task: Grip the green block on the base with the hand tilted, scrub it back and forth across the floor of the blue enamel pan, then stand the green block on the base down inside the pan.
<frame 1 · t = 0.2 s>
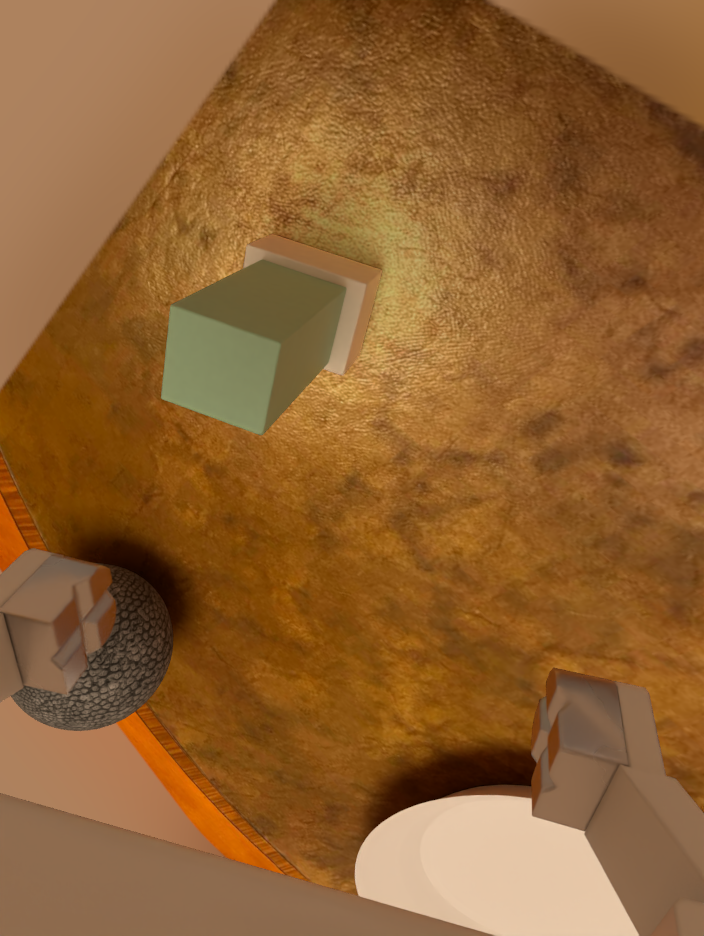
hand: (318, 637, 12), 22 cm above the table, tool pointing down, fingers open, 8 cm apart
white dinner plate: (535, 867, 47), on the table
green block on base: (316, 296, 32), on the table
decorative ball: (135, 592, 45), on the table
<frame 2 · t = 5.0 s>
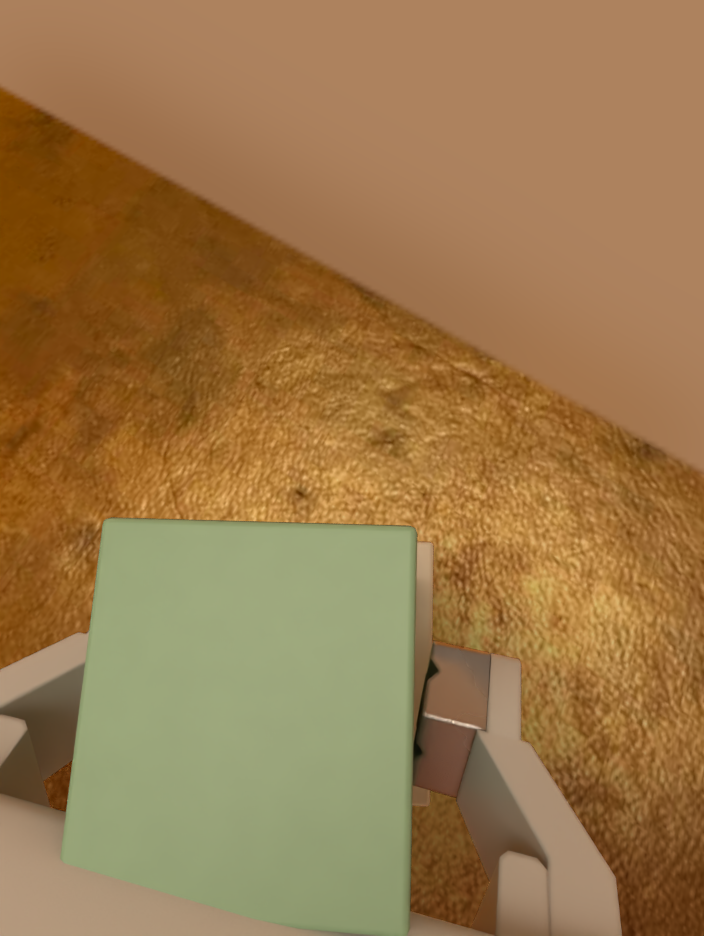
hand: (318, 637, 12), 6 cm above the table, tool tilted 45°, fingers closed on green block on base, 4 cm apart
green block on base: (346, 657, 18), on the table, touching gripper
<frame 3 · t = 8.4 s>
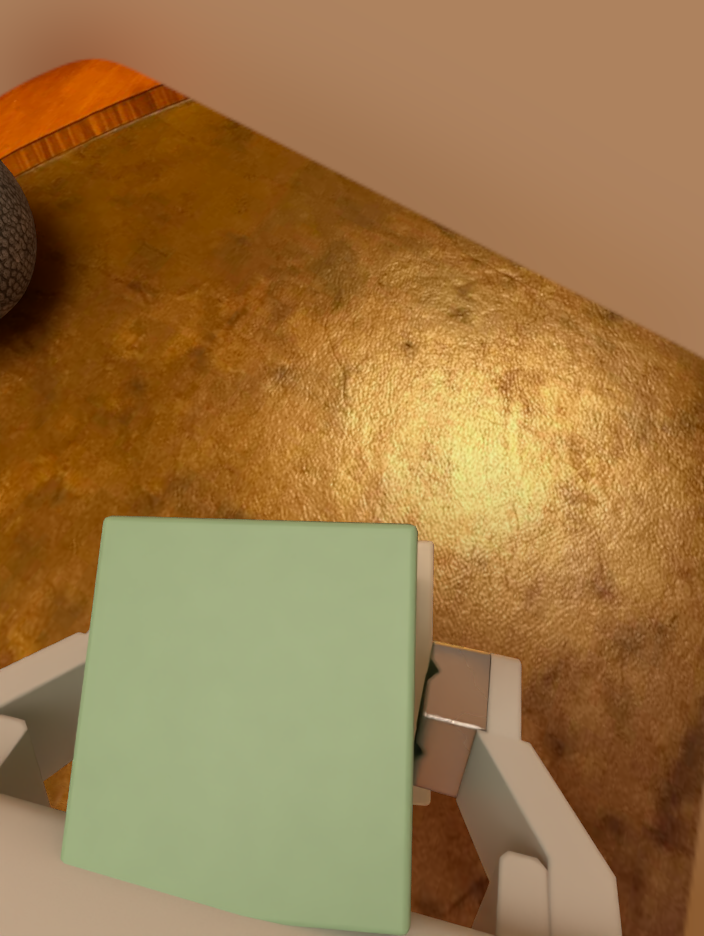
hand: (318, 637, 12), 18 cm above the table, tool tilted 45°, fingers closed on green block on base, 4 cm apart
green block on base: (346, 656, 18), point 12 cm above the table, touching gripper
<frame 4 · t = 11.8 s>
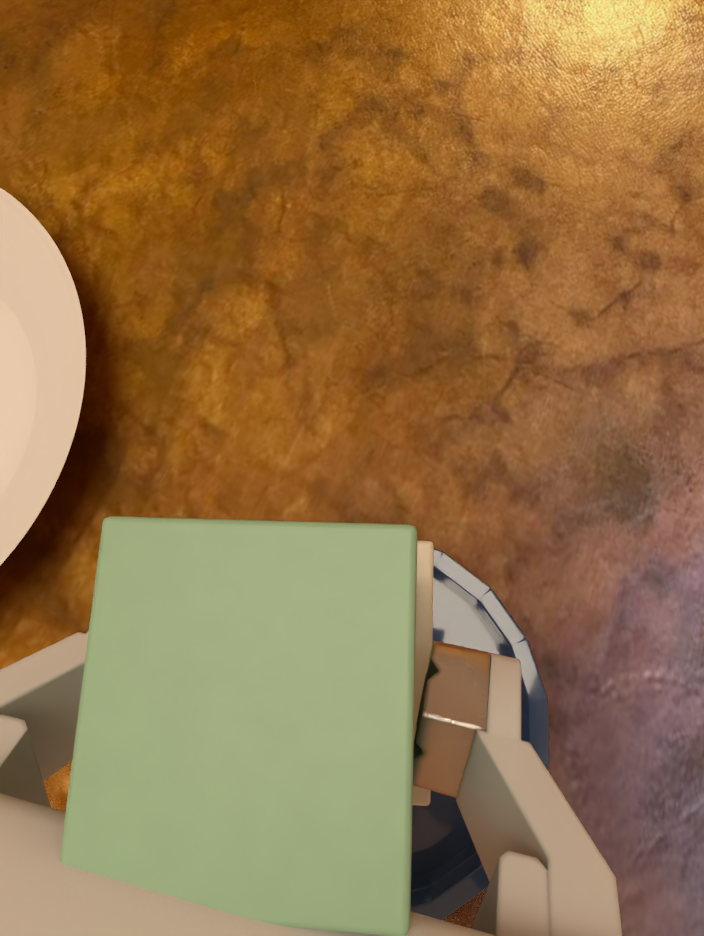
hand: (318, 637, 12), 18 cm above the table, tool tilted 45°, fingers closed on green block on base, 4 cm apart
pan: (361, 709, 28), on the table
green block on base: (346, 656, 18), point 12 cm above the table, touching gripper
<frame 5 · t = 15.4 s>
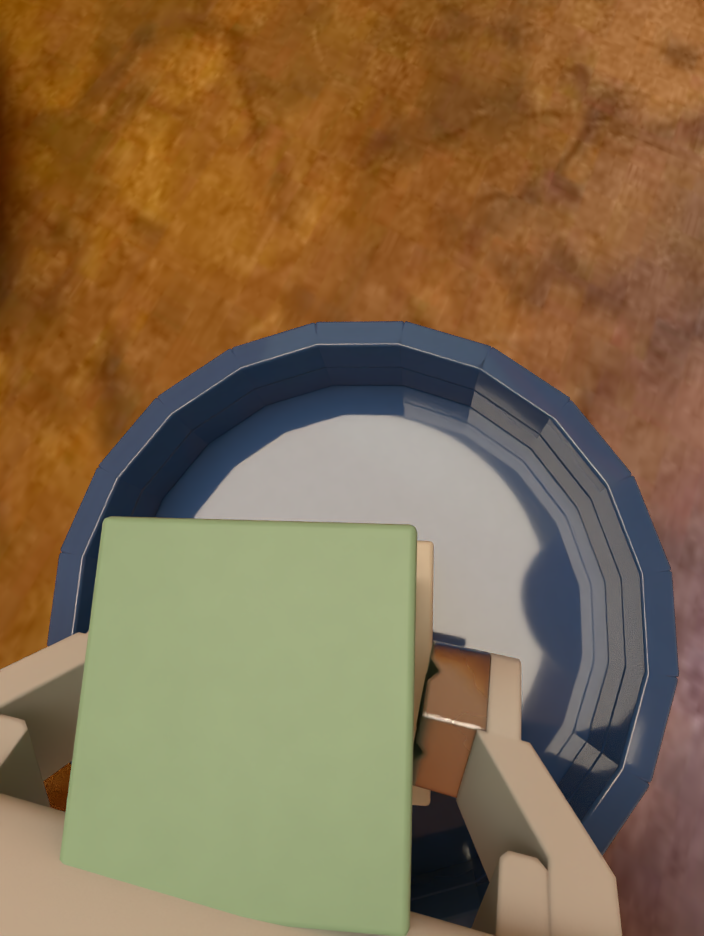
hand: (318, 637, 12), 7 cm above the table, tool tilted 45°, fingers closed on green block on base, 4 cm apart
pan: (361, 612, 18), on the table
green block on base: (346, 656, 18), point 1 cm above the table, touching gripper
when the fingers open (6 cm above the table, at t = 18.6 s): green block on base stays where it is, resting on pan.
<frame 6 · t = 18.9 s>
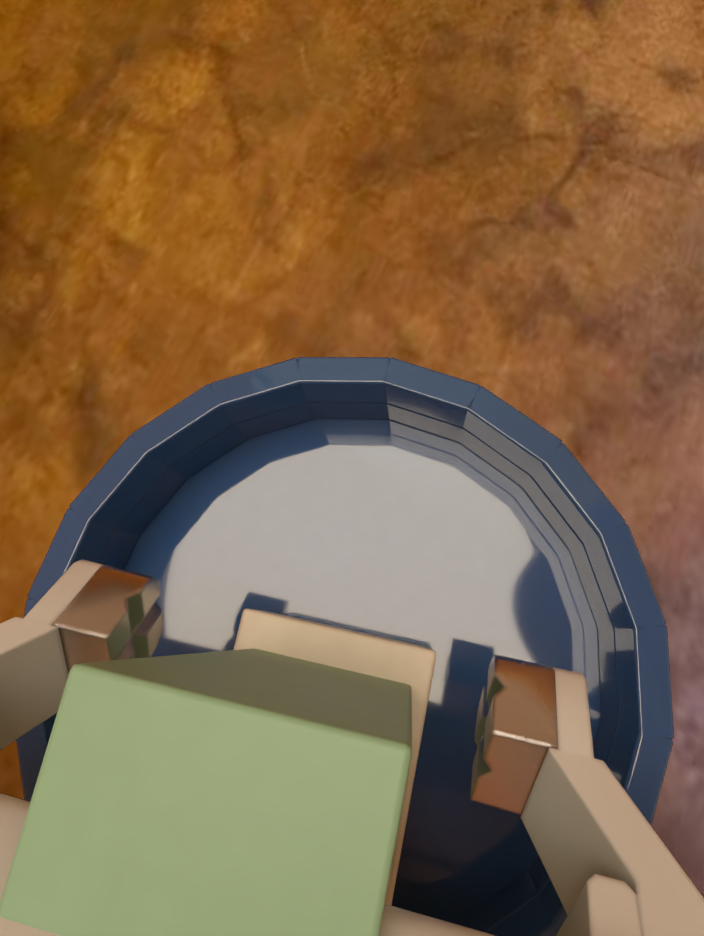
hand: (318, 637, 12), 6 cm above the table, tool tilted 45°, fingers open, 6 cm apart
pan: (344, 656, 18), on the table
green block on base: (326, 740, 17), point 1 cm above the table, touching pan
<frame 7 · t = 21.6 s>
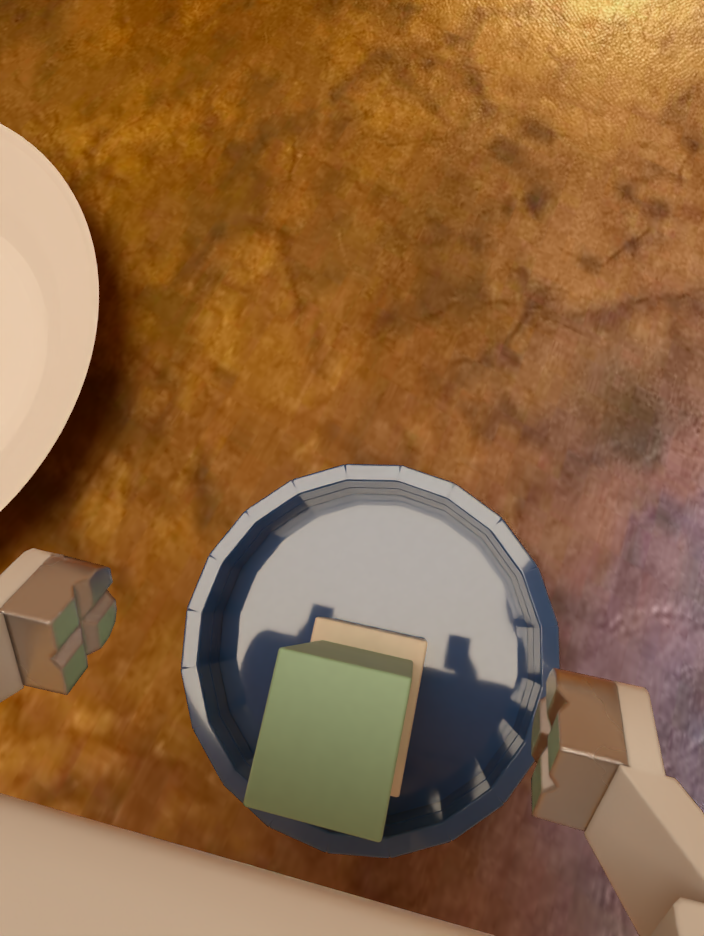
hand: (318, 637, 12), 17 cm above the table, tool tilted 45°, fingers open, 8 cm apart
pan: (371, 644, 28), on the table
green block on base: (362, 695, 27), point 1 cm above the table, touching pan
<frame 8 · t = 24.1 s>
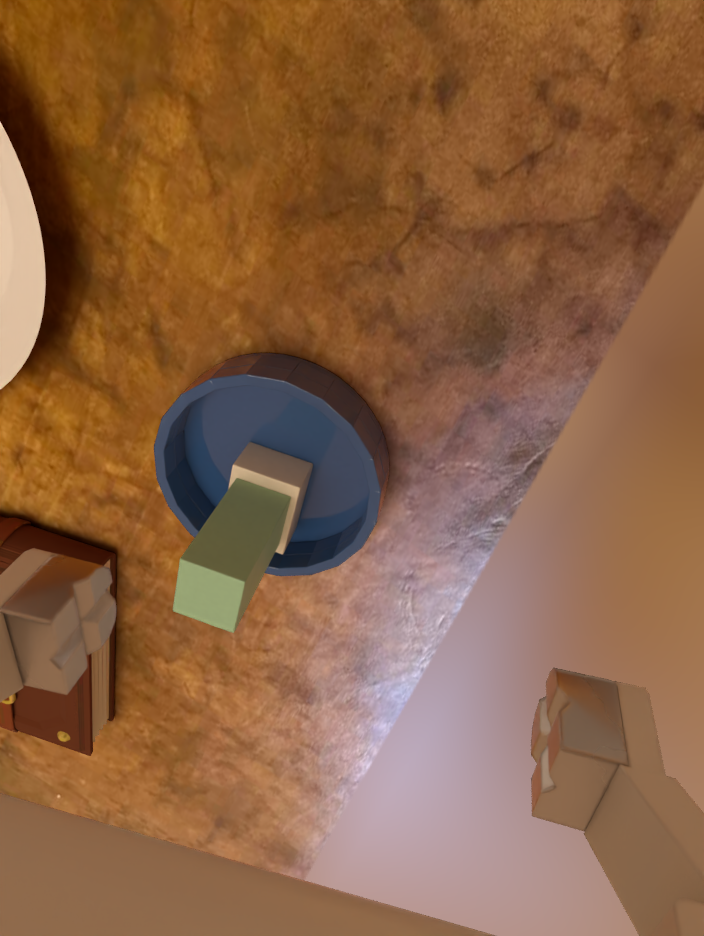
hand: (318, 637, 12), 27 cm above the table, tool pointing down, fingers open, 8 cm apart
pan: (281, 456, 43), on the table
green block on base: (273, 486, 44), point 1 cm above the table, touching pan
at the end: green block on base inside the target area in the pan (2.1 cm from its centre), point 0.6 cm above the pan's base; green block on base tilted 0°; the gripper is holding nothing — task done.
